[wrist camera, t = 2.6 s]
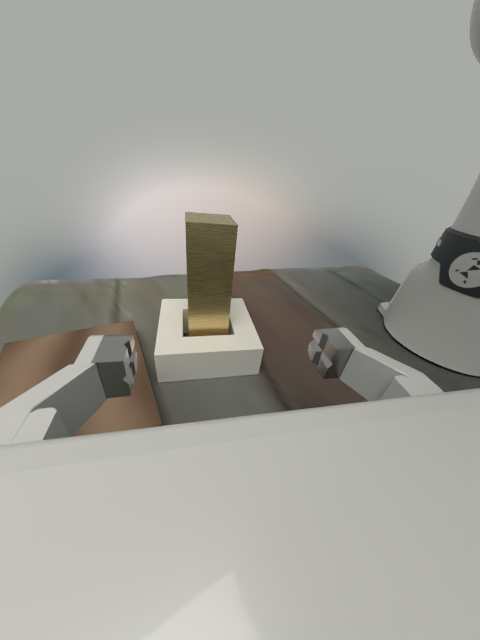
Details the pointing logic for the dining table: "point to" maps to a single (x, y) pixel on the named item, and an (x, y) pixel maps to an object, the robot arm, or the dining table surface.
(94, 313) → the dining table surface
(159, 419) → the board
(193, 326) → the peg
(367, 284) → the dining table surface
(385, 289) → the dining table surface
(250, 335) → the socket block
